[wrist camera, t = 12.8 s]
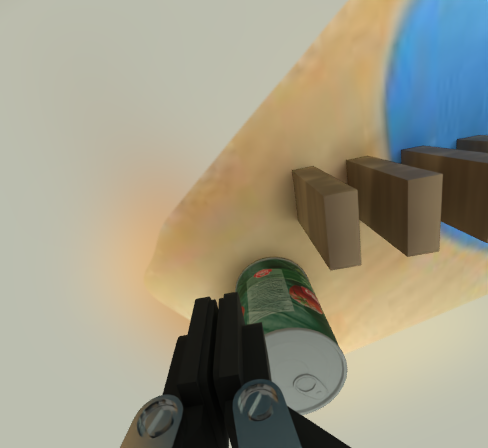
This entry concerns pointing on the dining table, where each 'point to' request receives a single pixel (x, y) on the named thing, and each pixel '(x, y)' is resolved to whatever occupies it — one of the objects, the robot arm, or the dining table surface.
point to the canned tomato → (293, 333)
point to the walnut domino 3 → (457, 185)
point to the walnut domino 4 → (473, 143)
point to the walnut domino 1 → (329, 216)
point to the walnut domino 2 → (398, 202)
